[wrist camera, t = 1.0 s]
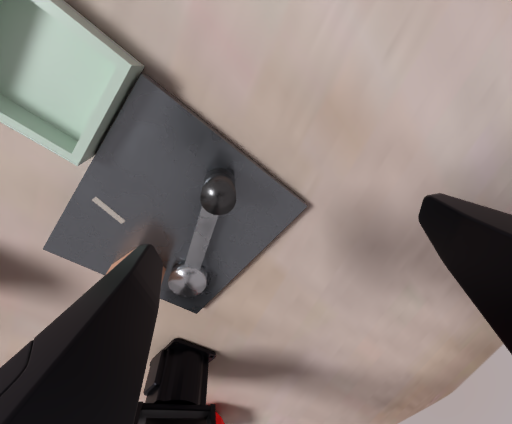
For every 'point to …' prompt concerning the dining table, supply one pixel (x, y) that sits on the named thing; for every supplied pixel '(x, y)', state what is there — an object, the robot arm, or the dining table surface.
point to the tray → (60, 77)
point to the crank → (204, 231)
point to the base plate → (169, 196)
